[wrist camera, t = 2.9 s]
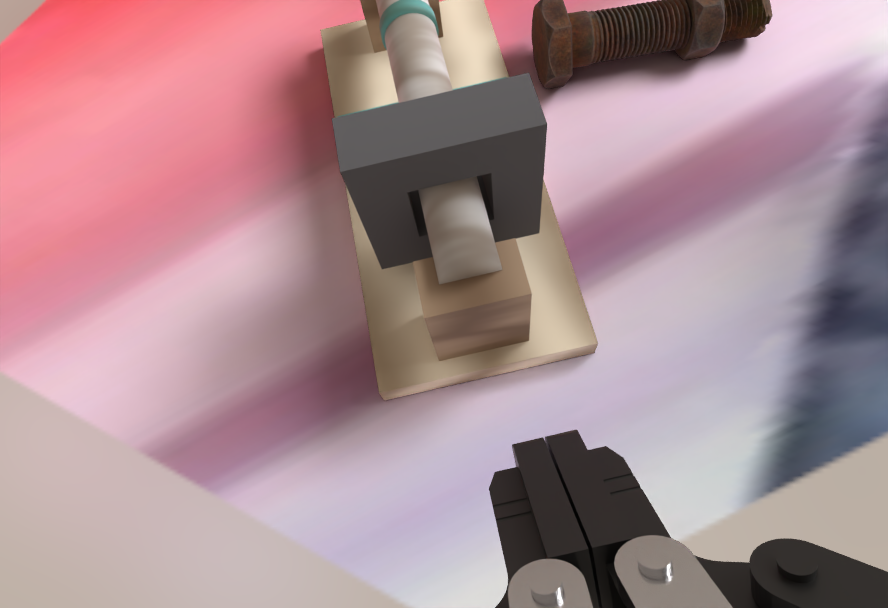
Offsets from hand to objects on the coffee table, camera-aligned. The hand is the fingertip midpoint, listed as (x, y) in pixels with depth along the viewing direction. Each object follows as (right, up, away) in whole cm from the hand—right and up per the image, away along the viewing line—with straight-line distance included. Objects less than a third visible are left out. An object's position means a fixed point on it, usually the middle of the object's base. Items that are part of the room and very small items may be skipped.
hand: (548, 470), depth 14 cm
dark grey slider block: (-2, +8, +21) cm, 22 cm away
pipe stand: (-3, +12, +26) cm, 29 cm away
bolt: (+12, +21, +29) cm, 38 cm away
